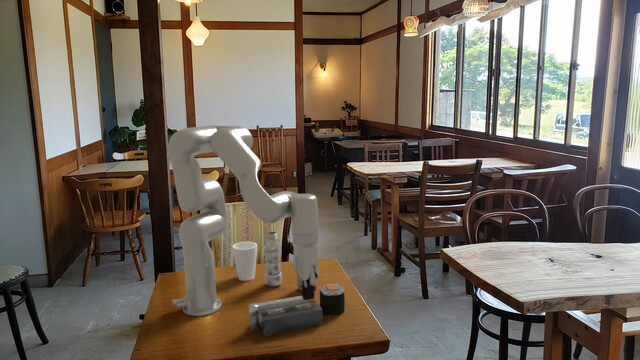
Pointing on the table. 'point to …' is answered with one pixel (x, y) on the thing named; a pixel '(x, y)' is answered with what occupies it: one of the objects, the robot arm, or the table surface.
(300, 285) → the soda can
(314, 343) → the table surface
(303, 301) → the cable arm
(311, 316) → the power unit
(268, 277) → the plastic bottle
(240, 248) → the foam cup
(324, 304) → the sushi
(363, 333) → the table surface
